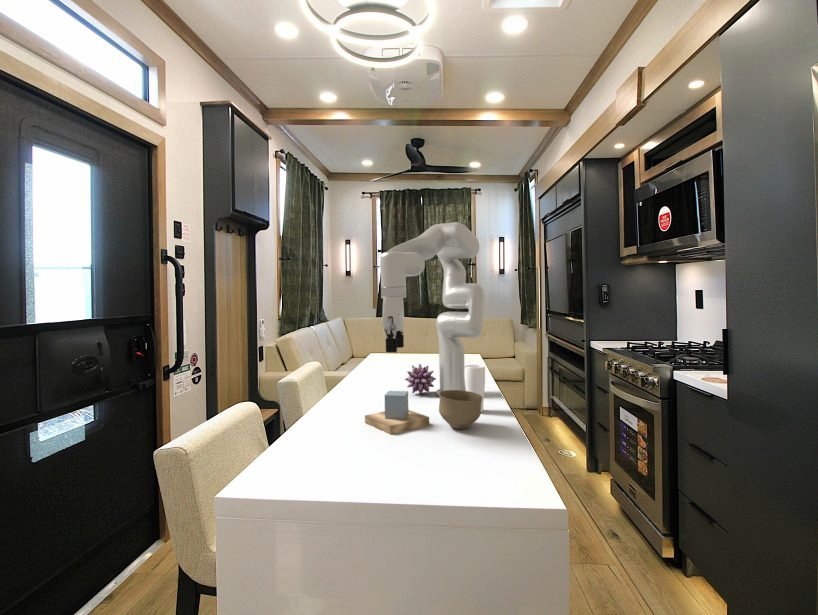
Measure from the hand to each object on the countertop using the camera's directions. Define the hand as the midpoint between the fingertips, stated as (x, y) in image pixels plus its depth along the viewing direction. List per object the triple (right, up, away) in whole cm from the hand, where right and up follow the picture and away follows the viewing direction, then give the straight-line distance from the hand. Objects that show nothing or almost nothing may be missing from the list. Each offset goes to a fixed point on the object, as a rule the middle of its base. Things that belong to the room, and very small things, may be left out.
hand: (395, 349), depth 139 cm
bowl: (+19, -23, -4) cm, 30 cm away
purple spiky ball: (+9, -21, +38) cm, 44 cm away
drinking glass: (+26, -22, +12) cm, 36 cm away
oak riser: (0, -23, 0) cm, 23 cm away
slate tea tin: (+1, -20, 0) cm, 20 cm away
